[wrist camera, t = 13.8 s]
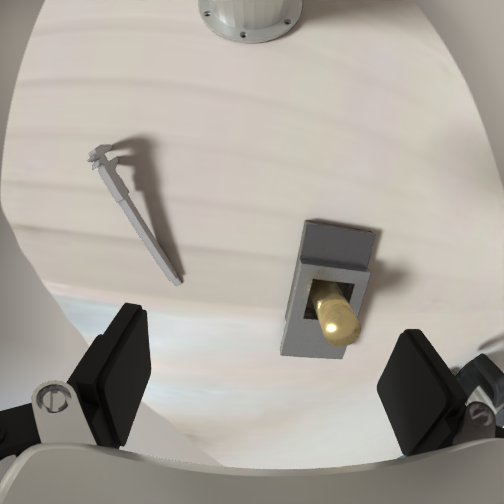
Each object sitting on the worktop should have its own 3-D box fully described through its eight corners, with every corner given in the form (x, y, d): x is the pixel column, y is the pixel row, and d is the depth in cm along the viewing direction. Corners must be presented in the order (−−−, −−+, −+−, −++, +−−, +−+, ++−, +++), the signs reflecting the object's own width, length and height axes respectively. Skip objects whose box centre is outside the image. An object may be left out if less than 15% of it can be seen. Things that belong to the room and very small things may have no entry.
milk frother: (487, 370, 47) (520, 411, 33) (433, 414, 50) (458, 461, 36) (477, 336, 43) (518, 382, 29) (414, 388, 47) (445, 444, 33)
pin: (312, 275, 39) (330, 314, 29) (341, 278, 39) (365, 317, 30) (306, 302, 40) (320, 346, 31) (334, 305, 40) (354, 347, 31)
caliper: (106, 148, 34) (81, 150, 28) (112, 144, 33) (88, 144, 28) (176, 284, 40) (164, 307, 34) (183, 281, 39) (172, 304, 34)
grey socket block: (304, 220, 36) (309, 226, 34) (371, 231, 37) (379, 238, 34) (279, 342, 42) (280, 355, 39) (337, 347, 43) (342, 359, 40)
